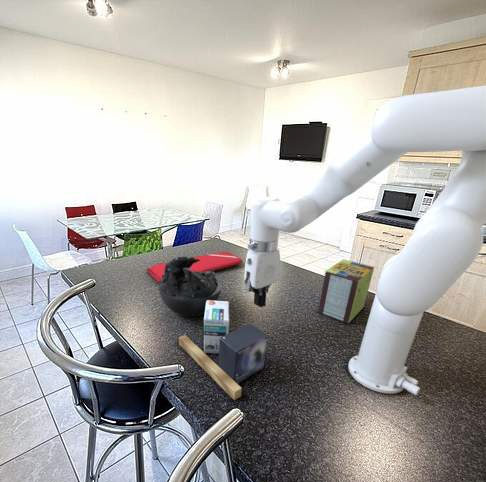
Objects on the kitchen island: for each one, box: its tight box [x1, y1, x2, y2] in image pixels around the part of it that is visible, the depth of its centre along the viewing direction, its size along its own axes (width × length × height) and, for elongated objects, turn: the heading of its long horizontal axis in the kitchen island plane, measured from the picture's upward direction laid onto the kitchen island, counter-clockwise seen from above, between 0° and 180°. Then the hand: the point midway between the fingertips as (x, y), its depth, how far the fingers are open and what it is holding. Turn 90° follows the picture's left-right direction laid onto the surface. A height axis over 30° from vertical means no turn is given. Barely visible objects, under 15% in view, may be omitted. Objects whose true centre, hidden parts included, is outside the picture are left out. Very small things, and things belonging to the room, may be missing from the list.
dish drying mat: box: [146, 251, 244, 284], centre depth 131 cm, size 16×41×4 cm, turn 121°
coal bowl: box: [158, 255, 222, 317], centre depth 94 cm, size 20×20×19 cm
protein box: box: [317, 258, 375, 325], centre depth 98 cm, size 10×15×16 cm
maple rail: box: [178, 334, 243, 401], centre depth 73 cm, size 24×2×2 cm, turn 36°
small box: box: [217, 323, 269, 385], centre depth 71 cm, size 11×6×10 cm, turn 128°
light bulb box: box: [203, 300, 230, 355], centre depth 81 cm, size 11×7×11 cm, turn 177°
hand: (259, 304), depth 85 cm, fingers closed
